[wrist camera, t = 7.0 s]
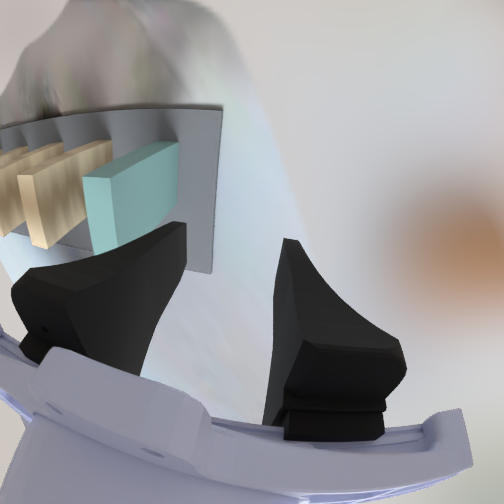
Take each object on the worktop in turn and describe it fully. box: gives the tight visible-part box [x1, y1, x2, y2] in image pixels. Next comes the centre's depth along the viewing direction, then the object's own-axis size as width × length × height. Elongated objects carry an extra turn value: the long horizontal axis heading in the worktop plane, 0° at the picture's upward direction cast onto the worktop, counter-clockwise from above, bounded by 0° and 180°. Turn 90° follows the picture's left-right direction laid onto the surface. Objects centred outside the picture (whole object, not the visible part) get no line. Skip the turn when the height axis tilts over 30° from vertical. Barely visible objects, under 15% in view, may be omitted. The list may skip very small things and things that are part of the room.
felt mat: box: [0, 108, 223, 274], centre depth 22 cm, size 14×31×1 cm, turn 83°
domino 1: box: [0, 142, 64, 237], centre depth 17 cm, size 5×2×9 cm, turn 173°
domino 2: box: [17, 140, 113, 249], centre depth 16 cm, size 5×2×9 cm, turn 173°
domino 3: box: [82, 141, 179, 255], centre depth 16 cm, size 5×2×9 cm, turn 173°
